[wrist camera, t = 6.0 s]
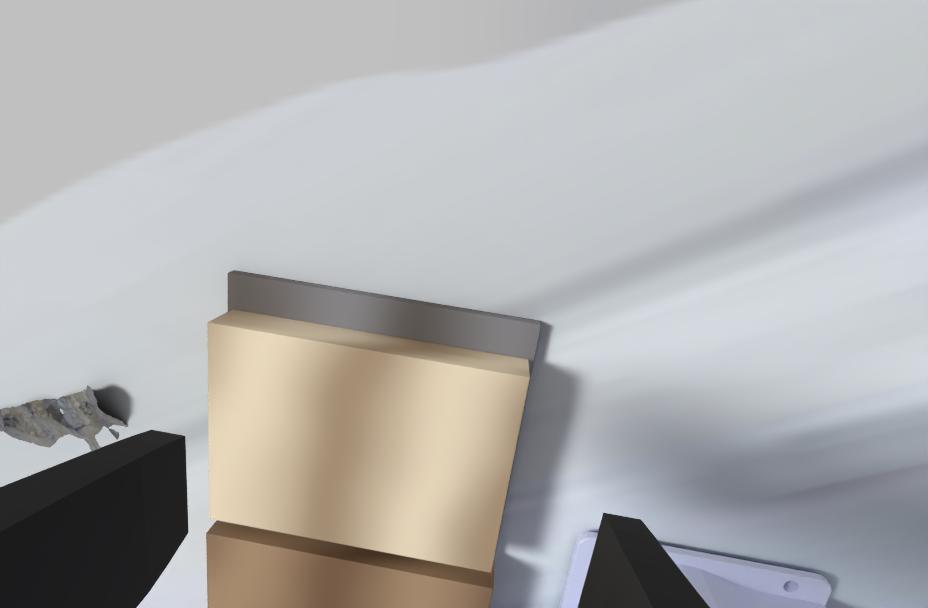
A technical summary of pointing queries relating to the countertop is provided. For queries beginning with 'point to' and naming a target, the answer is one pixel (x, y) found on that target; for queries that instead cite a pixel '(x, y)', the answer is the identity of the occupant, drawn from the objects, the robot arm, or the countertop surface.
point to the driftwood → (58, 420)
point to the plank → (361, 437)
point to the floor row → (332, 564)
